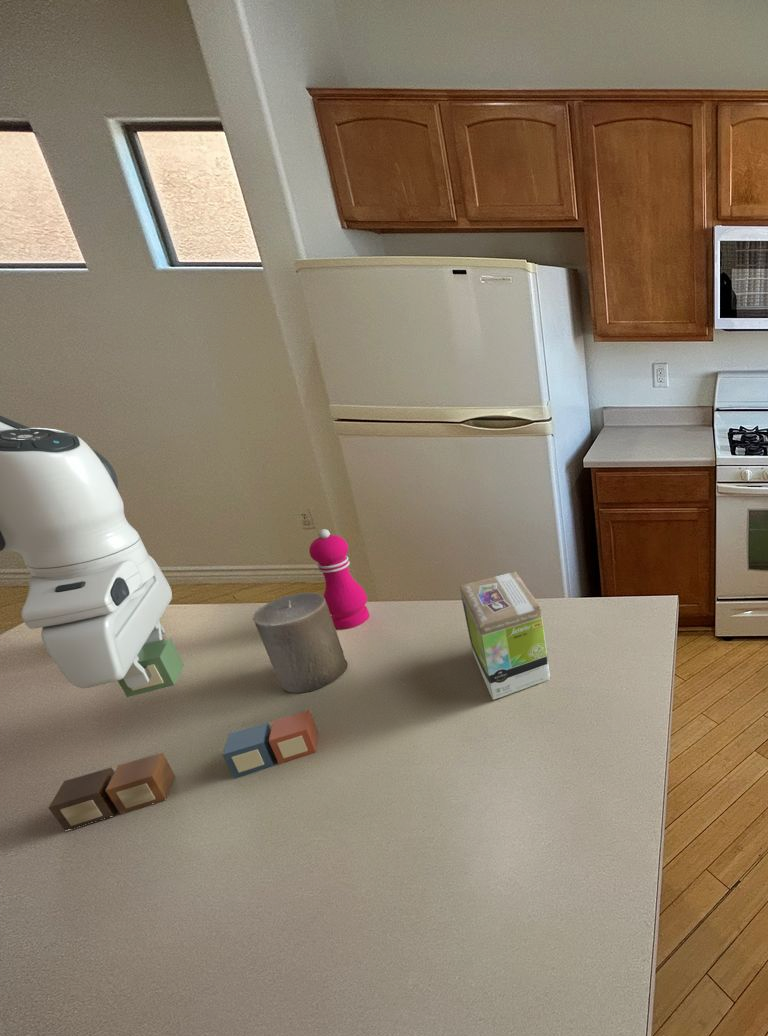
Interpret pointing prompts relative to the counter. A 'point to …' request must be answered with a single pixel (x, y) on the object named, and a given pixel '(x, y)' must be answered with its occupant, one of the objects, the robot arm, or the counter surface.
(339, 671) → the pillar candle
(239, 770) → the slate blue letter block
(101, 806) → the walnut letter block
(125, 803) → the teak letter block
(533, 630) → the tea box
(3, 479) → the robot arm
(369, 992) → the counter surface
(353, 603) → the pepper mill
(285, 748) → the terracotta letter block
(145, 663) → the sage green letter block
